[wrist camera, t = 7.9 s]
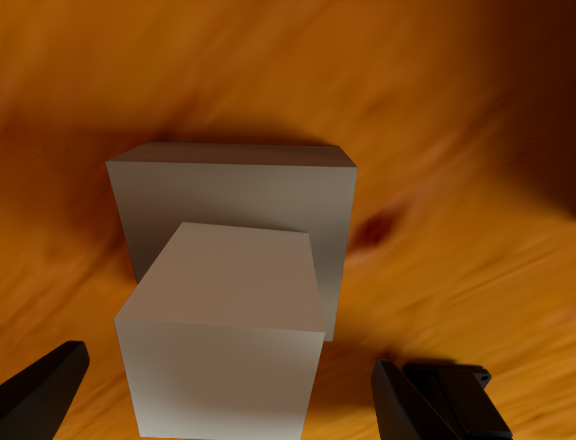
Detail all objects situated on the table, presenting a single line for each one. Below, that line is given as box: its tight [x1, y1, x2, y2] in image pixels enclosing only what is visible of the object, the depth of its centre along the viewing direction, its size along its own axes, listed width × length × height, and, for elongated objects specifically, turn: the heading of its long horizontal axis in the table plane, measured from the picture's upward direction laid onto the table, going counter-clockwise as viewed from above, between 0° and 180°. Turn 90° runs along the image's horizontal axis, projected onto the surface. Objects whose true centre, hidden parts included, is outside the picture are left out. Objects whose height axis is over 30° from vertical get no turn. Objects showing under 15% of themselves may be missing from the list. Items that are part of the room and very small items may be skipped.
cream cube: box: [114, 222, 325, 440], centre depth 10 cm, size 5×5×5 cm
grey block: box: [105, 141, 358, 342], centre depth 14 cm, size 9×9×4 cm
